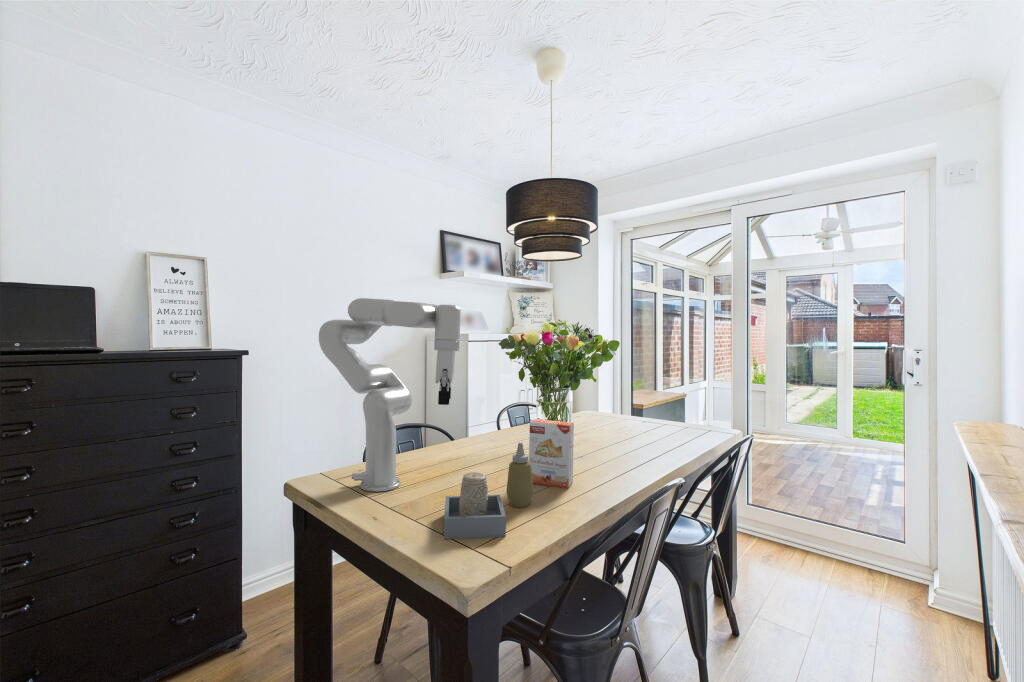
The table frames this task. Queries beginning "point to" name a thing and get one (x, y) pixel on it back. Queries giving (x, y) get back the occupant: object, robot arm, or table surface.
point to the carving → (473, 495)
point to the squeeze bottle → (520, 479)
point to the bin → (474, 520)
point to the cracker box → (551, 452)
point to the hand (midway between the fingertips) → (444, 401)
